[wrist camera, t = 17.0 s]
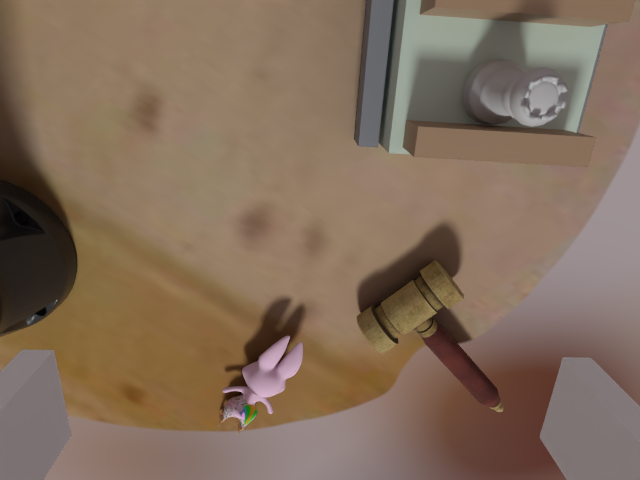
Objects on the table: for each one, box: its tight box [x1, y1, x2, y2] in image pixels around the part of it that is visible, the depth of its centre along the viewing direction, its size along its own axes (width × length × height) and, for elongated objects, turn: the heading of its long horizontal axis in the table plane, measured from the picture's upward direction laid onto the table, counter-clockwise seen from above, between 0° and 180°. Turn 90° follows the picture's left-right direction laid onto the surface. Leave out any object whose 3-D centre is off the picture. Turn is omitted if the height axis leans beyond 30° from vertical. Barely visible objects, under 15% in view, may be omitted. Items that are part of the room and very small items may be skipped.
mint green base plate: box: [378, 0, 635, 167], centre depth 32 cm, size 14×12×10 cm
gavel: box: [357, 260, 503, 412], centre depth 47 cm, size 21×5×10 cm
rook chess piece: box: [463, 59, 569, 127], centre depth 28 cm, size 4×4×8 cm
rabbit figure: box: [219, 336, 303, 434], centre depth 47 cm, size 6×6×15 cm
